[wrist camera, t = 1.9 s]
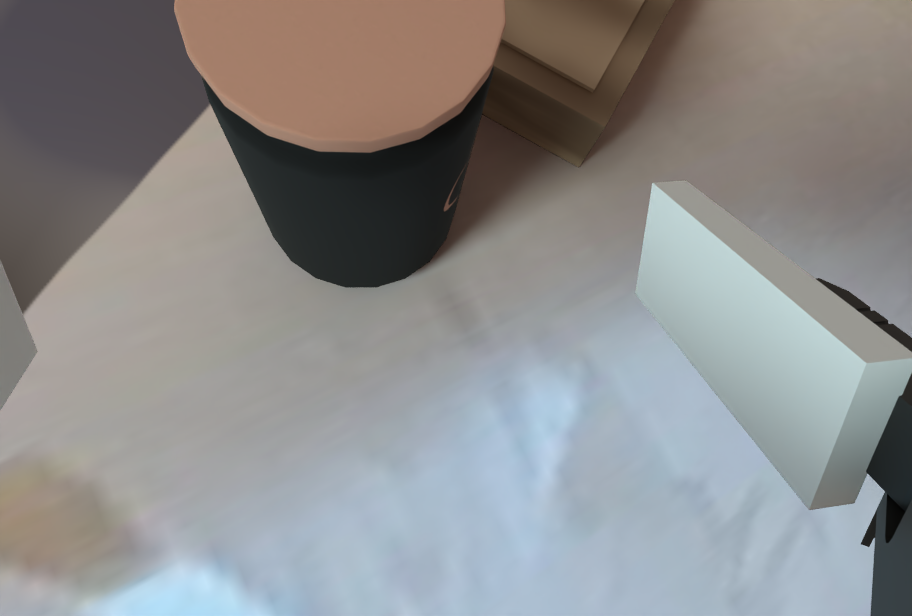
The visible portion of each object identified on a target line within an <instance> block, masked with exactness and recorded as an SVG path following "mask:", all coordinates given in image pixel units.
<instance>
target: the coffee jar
mask: <svg viewBox="0 0 912 616" xmlns="http://www.w3.org/2000/svg"><path fill="white" fill-rule="evenodd" d="M174 11H175V14H176V18H177V21H178V24H179V28H180V31H181V34H182V37H183V41H184V44H185V47H186V51H187V54H188V56H189V58H190V59H191V61H192V62H193V64H194V66H195V67H196V69H197V70H198V71H199V72H200V74H201V76H202V80H203V83H204V86H205V89H206V93H207V96H208V99H209V102H210V104H211V106H212V108H213V110H214V113H215V115H216V117H217V119H218V121H219V123H220V125H221V127H222V129H223V132H224V134H225V136H226V138H227V140H228V142H229V144H230V146H231V148H232V150H233V153H234V155H235V157H236V159H237V161H238V163H239V165H240V167H241V169H242V172H243V174H244V176H245V178H246V180H247V182H248V184H249V186H250V188H251V191H252V193H253V195H254V197H255V199H256V201H257V203H258V205H259V207H260V209H261V212H262V214H263V216H264V218H265V220H266V222H267V224H268V226H269V228H270V231H271V233H272V235H273V237H274V238H275V240H276V241H277V242H278V244H279V245H280V246H281V248H282V249H283V250H284V252H285V253H286V254H287V256H288V257H289V258H290V260H291V261H292V262H294V263H295V264H297V265H298V266H299V267H301V268H302V269H304V270H305V271H307V272H308V273H309V274H311V275H312V276H314V277H315V278H317V279H320V280H324V281H327V282H330V283H333V284H336V285H340V286H343V287H379V286H382V285H385V284H389V283H392V282H395V281H398V280H401V279H405V278H406V277H408V276H409V275H411V274H412V273H414V272H415V271H416V270H418V269H419V268H421V267H422V266H424V265H425V264H426V263H428V262H429V261H430V260H431V259H432V257H433V256H434V254H435V253H436V252H437V250H438V249H439V248H440V246H441V245H442V244H443V242H444V241H445V240H446V238H447V235H448V231H449V228H450V225H451V222H452V219H453V216H454V212H455V209H456V205H457V202H458V198H459V194H460V191H461V187H462V184H463V180H464V176H465V173H466V169H467V166H468V162H469V158H470V155H471V151H472V148H473V144H474V140H475V137H476V133H477V129H478V126H479V122H480V119H481V115H482V111H483V108H484V104H485V101H486V97H487V93H488V90H489V86H490V83H491V79H492V75H493V72H494V65H493V64H494V61H495V58H496V55H497V51H498V48H499V45H500V42H501V39H502V36H503V33H504V30H505V26H506V13H505V0H175V5H174Z"/></svg>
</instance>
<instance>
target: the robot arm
mask: <svg viewBox="0 0 912 616" xmlns="http://www.w3.org/2000/svg"><path fill="white" fill-rule="evenodd" d="M635 294H636V295H637V297H638V298H639V299H640V300H641V302H642V303H643V304H644V305H645V307H646V308H647V309H648V310H649V312H650V313H651V314H652V315H653V317H654V318H655V319H656V320H657V322H658V323H659V324H660V325H661V326H662V328H663V329H664V330H665V331H666V333H667V334H668V335H669V336H670V338H671V339H672V340H673V341H674V343H675V344H676V345H677V346H678V348H679V349H680V350H681V351H682V353H683V354H684V355H685V356H686V358H687V359H688V360H689V361H690V363H691V364H692V365H693V366H694V368H695V369H696V370H697V371H698V373H699V374H700V375H701V376H702V377H703V379H704V380H705V381H706V382H707V384H708V385H709V386H710V387H711V389H712V390H713V391H714V392H715V394H716V395H717V396H718V397H719V399H720V400H721V401H722V402H723V404H724V405H725V406H726V407H727V409H728V410H729V411H730V412H731V414H732V415H733V416H734V417H735V419H736V420H737V421H738V422H739V424H740V425H741V426H742V427H743V429H744V430H745V431H746V432H747V433H748V435H749V436H750V437H751V438H752V440H753V441H754V442H755V443H756V445H757V446H758V447H759V448H760V450H761V451H762V452H763V453H764V455H765V456H766V457H767V458H768V460H769V461H770V462H771V463H772V465H773V466H774V467H775V468H776V470H777V471H778V472H779V473H780V475H781V476H782V477H783V478H784V480H785V481H786V482H787V483H788V484H789V486H790V487H791V488H792V489H793V491H794V492H795V493H796V494H797V496H798V497H799V498H800V499H801V501H802V502H803V503H804V504H805V506H806V507H807V508H808V509H809V510H812V509H819V508H826V507H832V506H839V505H845V504H852V503H855V500H856V498H857V496H858V494H859V491H860V489H861V487H862V485H863V482H864V480H865V478H866V475H867V473H868V474H869V475H870V476H871V477H872V478H873V479H874V480H875V481H876V482H877V484H878V485H879V486H880V487H881V488H882V489H883V490H884V491H885V493H884V495H883V497H882V499H881V502H880V504H879V506H878V508H877V510H876V512H875V514H874V517H873V519H872V521H871V523H870V525H869V527H868V529H867V531H866V534H865V536H864V538H863V540H862V542H861V544H862V545H865V546H868V547H869V546H870V544H871V542H872V540H873V538H875V551H874V567H873V584H872V601H871V616H912V338H911V337H910V336H909V335H907V334H906V333H904V332H903V331H902V330H900V329H899V328H898V327H896V326H895V325H894V324H888V320H887V319H885V318H884V317H883V316H881V315H880V314H879V313H877V312H876V311H871V310H870V307H869V306H868V305H866V304H865V303H864V302H862V301H861V300H860V299H858V298H857V297H856V296H854V295H853V294H852V293H850V292H849V291H847V290H844V289H842V288H840V287H838V286H835V285H833V284H831V283H829V282H826V281H824V280H822V279H820V278H818V279H815V278H814V277H812V276H811V275H810V274H808V273H807V272H806V271H805V270H803V269H802V268H801V267H799V266H798V265H797V264H795V263H794V262H793V261H791V260H790V259H789V258H787V257H786V256H785V255H783V254H782V253H781V252H780V251H778V250H777V249H776V248H774V247H773V246H772V245H770V244H769V243H768V242H766V241H765V240H764V239H762V238H761V237H760V236H758V235H757V234H756V233H755V232H753V231H752V230H751V229H749V228H748V227H747V226H745V225H744V224H743V223H741V222H740V221H739V220H737V219H736V218H735V217H734V216H732V215H731V214H730V213H728V212H727V211H726V210H724V209H723V208H722V207H720V206H719V205H718V204H716V203H715V202H714V201H712V200H711V199H710V198H709V197H707V196H706V195H705V194H703V193H702V192H701V191H699V190H698V189H697V188H695V187H694V186H693V185H691V184H690V183H689V182H688V181H686V180H684V181H670V182H656V183H652V190H651V196H650V202H649V209H648V215H647V221H646V228H645V234H644V241H643V247H642V253H641V260H640V266H639V272H638V279H637V285H636V292H635ZM36 353H37V349H36V346H35V344H34V341H33V339H32V336H31V334H30V331H29V329H28V327H27V324H26V322H25V319H24V317H23V314H22V312H21V309H20V307H19V305H18V302H17V300H16V297H15V295H14V293H13V290H12V288H11V285H10V283H9V280H8V278H7V275H6V273H5V271H4V268H3V266H2V263H1V261H0V410H1V409H2V407H3V405H4V404H5V402H6V401H7V399H8V398H9V396H10V394H11V393H12V391H13V390H14V388H15V386H16V385H17V383H18V382H19V380H20V378H21V377H22V375H23V374H24V372H25V371H26V369H27V367H28V366H29V364H30V363H31V361H32V359H33V358H34V356H35V355H36Z"/></svg>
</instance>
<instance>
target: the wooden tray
mask: <svg viewBox="0 0 912 616" xmlns="http://www.w3.org/2000/svg"><path fill="white" fill-rule="evenodd" d="M673 2H674V0H505V13H506V26H505V30H504V33H503V36H502V39H501V42H500V45H499V48H498V51H497V55H496V58H495V61H494V64H493V65H494V72H493V75H492V79H491V83H490V86H489V90H488V93H487V97H486V101H485V104H484V108H483V111H482V114H483V115H485V116H487V117H488V118H490V119H492V120H494V121H496V122H497V123H499V124H501V125H503V126H505V127H506V128H508V129H510V130H512V131H514V132H516V133H517V134H519V135H521V136H523V137H525V138H526V139H528V140H530V141H532V142H534V143H535V144H537V145H539V146H541V147H543V148H544V149H546V150H548V151H550V152H552V153H553V154H555V155H557V156H559V157H561V158H562V159H564V160H566V161H568V162H570V163H571V164H573V165H575V166H577V167H580V165H581V164H582V162H583V160H584V159H585V157H586V156H587V154H588V153H589V151H590V150H591V148H592V147H593V145H594V144H595V142H596V140H597V139H598V137H599V136H600V134H601V133H602V131H603V130H604V128H605V126H606V125H607V123H608V121H609V119H610V117H611V115H612V114H613V112H614V110H615V108H616V106H617V105H618V103H619V101H620V99H621V97H622V95H623V94H624V92H625V90H626V88H627V86H628V84H629V83H630V81H631V79H632V77H633V75H634V73H635V72H636V70H637V68H638V66H639V64H640V63H641V61H642V59H643V57H644V55H645V53H646V52H647V50H648V48H649V46H650V44H651V42H652V41H653V39H654V37H655V35H656V33H657V31H658V30H659V28H660V26H661V24H662V22H663V20H664V19H665V17H666V15H667V13H668V11H669V10H670V8H671V6H672V4H673Z"/></svg>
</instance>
